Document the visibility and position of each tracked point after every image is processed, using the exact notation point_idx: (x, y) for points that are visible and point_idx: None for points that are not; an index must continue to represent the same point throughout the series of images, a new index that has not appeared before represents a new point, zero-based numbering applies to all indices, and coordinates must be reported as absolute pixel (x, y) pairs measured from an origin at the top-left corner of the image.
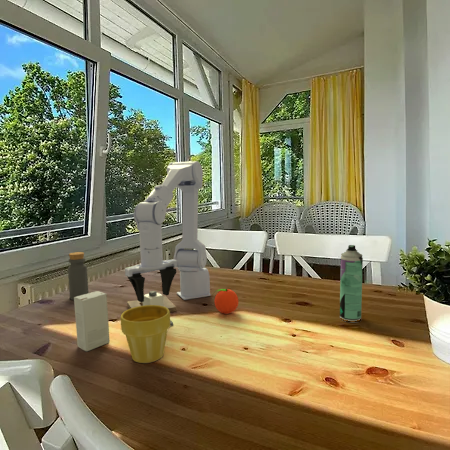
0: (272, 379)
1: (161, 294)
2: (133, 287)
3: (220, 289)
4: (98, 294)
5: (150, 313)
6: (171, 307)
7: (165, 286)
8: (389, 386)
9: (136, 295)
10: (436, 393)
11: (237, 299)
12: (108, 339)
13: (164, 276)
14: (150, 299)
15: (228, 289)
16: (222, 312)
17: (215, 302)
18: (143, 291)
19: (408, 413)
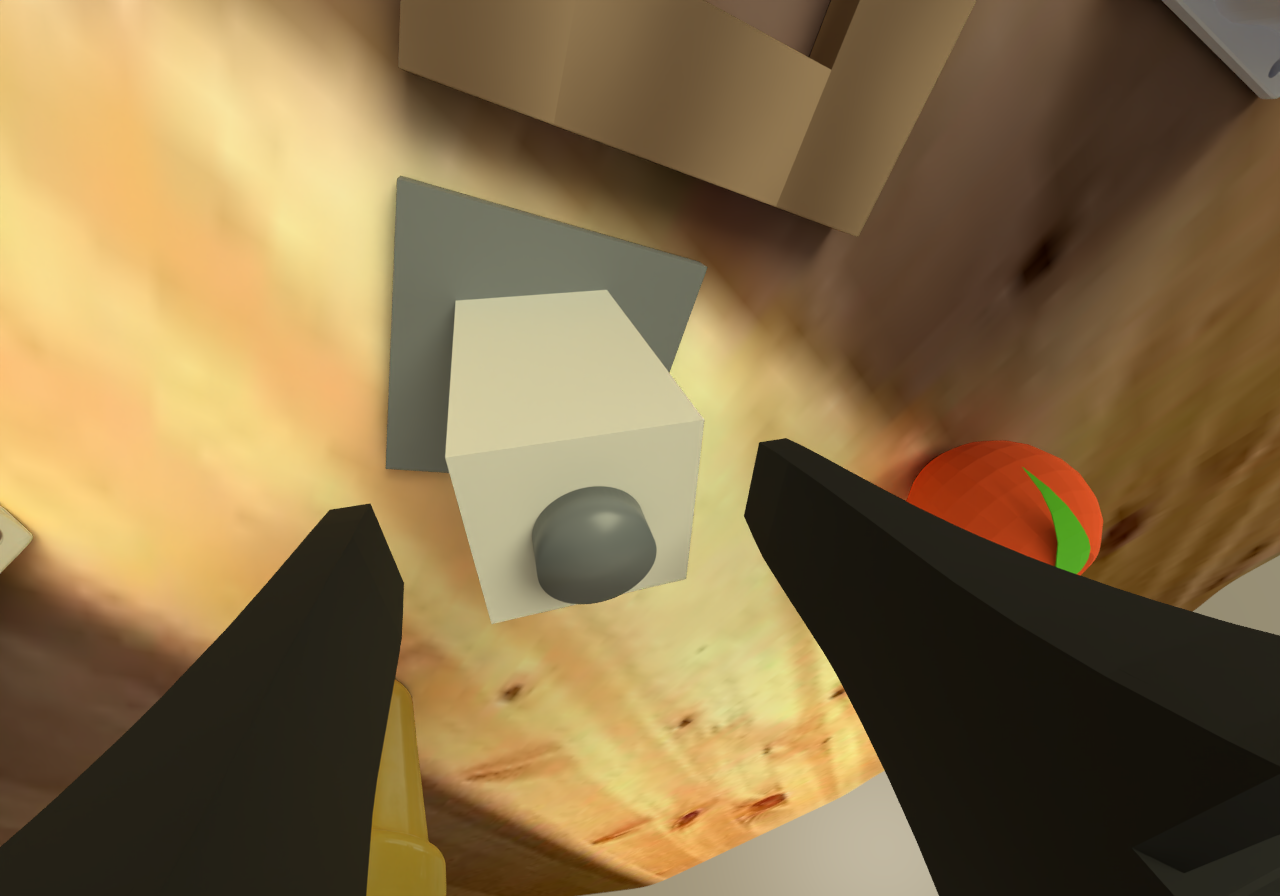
0: (610, 815)
1: (684, 555)
2: (119, 748)
3: (1079, 545)
4: None
5: None
6: (826, 213)
7: (816, 579)
8: (733, 826)
9: (282, 571)
10: (754, 834)
11: None
12: (2, 563)
13: (954, 721)
14: (495, 611)
15: (1086, 564)
16: (907, 499)
17: (946, 520)
18: (376, 767)
19: (682, 859)
